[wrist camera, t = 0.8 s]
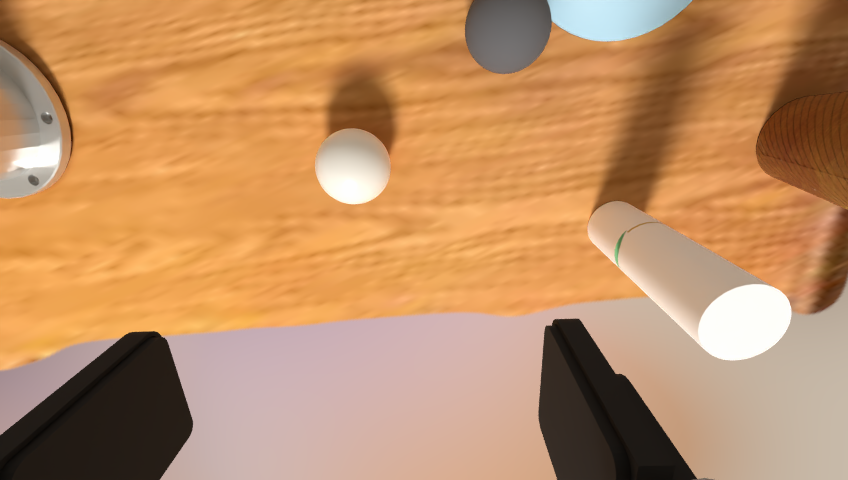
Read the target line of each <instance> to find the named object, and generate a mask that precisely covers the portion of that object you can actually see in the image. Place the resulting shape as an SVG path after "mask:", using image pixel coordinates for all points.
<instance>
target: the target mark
mask: <svg viewBox="0 0 848 480" xmlns="http://www.w3.org/2000/svg"><path fill="white" fill-rule="evenodd" d="M547 1H548V4H549V7H550V11H551V19H552V22H554V23H555V24H556V25H557V26H559V27H560V28H562V29H563V30H565V31H567V32H569V33H570V34H573V35H576V36H578V37H581V38H584V39H589V40H594V41H607V42H608V41H620V40H625V39H629V38H634V37H637V36H640V35H642V34H645V33H648V32H650V31H652V30H654V29H656V28H658V27H660V26H662V25H663V24H665V23H666V22H668V21H669V20H671V19H672V18H674V17H675V16H676V15H677V14H678V13H680V12H681V11H682V10H683V9H684V8H686V7H687V6H688V5H689V3H690V2H691V1H692V0H547Z"/></svg>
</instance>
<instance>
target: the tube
mask: <svg viewBox="0 0 848 480" xmlns="http://www.w3.org/2000/svg"><path fill="white" fill-rule="evenodd" d="M588 235H589V238H590V240H591V241H592V242H593V243H594V244H595V245H596V246H597V247H598V248H599V249H600V250H601V251H602V252H603V253H604V254H605V255H606V256H607V257H608V258H609V259H610V260H611V261H612V262H613V263H615V264H616V265H617V266H618V267H619V268H620V269H621V270H622V271H623V272H624V273H625V274H626V275H627V276H628V277H629V278H630V279H631V280H632V281H633V282H634V283H635V284H636V285H638V286H639V287H640V288H641V289H642V290H643V291H644V292H645V293H646V294H647V295H648V296H649V297H650V298H651V299H652V300H653V301H654V302H655V303H656V304H657V305H659V306H660V307H661V308H662V309H663V310H664V311H665V312H666V313H667V314H668V315H669V316H670V317H671V318H672V319H673V320H674V321H675V322H677V324H678V325H680V326H681V327H682V328H683V329H684V330H685V331H686V332H687V333H688V334H689V335H690V336H691V337H692V338H693V339H694V340H695V341H696V342H697V343H698V344H699V345H700V346H702V348H704V349H705V350H706V351H707V352H708V353H709V354H711V355H713V356H715V357H717V358H720V359H724V360H742V359H746V358H751V357H754V356H756V355H759V354H761V353H762V352H764V351H766V350H768V349H769V348H770V347H772V346H773V345H774V344H775V343H776V342H777V341H778V340H779V339H780V338H781V337H782V336H783V334H784V333H785V332H786V330H787V328H788V326H789V323H790V318H791V306H790V303H789V301H788V299H787V297H786V296H785V295H784V294H783V293H782V292H781V291H780V290H778V289H776V288H774V287H773V286H771V285H769V284H767V283H766V282H764V281H762V280H760V279H759V278H757V277H755V276H754V275H752V274H750V273H748V272H747V271H745V270H743V269H741V268H740V267H738V266H736V265H735V264H733V263H731V262H729V261H728V260H726V259H724V258H722V257H721V256H719V255H717V254H715V253H714V252H712V251H710V250H709V249H707V248H705V247H703V246H702V245H700V244H698V243H696V242H695V241H693V240H691V239H689V238H688V237H686V236H684V235H683V234H681V233H679V232H677V231H676V230H674V229H672V228H670V227H669V226H667V225H665V224H663V223H662V222H660V221H658V220H656V219H655V218H653V217H651V216H650V215H648V214H646V213H644V212H643V211H641V210H639V209H637V208H636V207H634V206H632V205H630V204H629V203H626V202H623V201H613V202H609V203H606V204H604V205H602V206H600V207H599V208H598V209H597V210H596V211H595V212H594V213H593V214H592V216H591V217H590V220H589V222H588Z"/></svg>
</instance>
